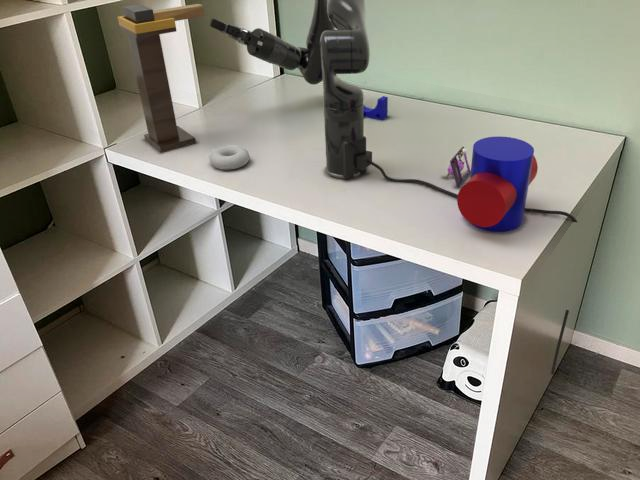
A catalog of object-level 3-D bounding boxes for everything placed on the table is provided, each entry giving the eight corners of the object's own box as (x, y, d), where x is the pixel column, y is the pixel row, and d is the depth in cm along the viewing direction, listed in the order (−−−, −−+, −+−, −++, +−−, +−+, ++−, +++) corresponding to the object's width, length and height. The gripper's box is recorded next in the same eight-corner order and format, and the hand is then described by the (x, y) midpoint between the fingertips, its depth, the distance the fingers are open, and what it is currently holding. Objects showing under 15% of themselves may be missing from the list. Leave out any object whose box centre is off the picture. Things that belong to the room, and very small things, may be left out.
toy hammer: (209, 17, 157) (206, 0, 155) (138, 29, 148) (134, 12, 145) (195, 12, 162) (193, -4, 160) (126, 24, 153) (122, 6, 150)
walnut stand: (196, 142, 168) (176, 27, 151) (161, 152, 163) (136, 34, 146) (178, 130, 176) (157, 18, 158) (144, 139, 171) (119, 25, 153)
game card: (454, 160, 142) (466, 145, 149) (433, 163, 145) (446, 149, 151) (461, 187, 145) (473, 171, 151) (441, 189, 148) (453, 174, 154)
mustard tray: (176, 27, 151) (174, 18, 150) (136, 34, 146) (134, 25, 145) (157, 18, 158) (156, 10, 157) (119, 25, 153) (117, 16, 152)
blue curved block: (344, 114, 185) (344, 94, 181) (353, 109, 188) (352, 89, 185) (379, 121, 180) (379, 101, 176) (387, 117, 183) (387, 97, 179)
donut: (204, 170, 154) (242, 173, 153) (201, 157, 153) (240, 160, 151) (219, 154, 163) (255, 156, 161) (217, 141, 161) (254, 143, 159)
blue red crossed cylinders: (485, 192, 143) (493, 126, 134) (536, 204, 138) (547, 136, 129) (449, 231, 129) (455, 160, 120) (504, 246, 124) (515, 174, 115)
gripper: (259, 29, 179) (210, 6, 167) (285, 39, 169) (236, 15, 158) (250, 54, 180) (201, 33, 169) (276, 66, 171) (226, 44, 159)
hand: (218, 25), depth 163 cm, fingers open, 8 cm apart
